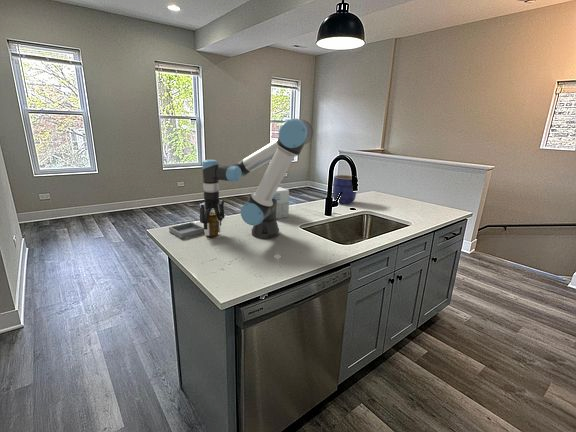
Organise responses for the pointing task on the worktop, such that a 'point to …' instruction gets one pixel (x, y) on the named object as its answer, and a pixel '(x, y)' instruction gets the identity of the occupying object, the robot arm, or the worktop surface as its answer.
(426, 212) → the worktop surface
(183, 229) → the bin
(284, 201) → the supplement box
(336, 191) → the planter
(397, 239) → the worktop surface
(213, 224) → the condiment
